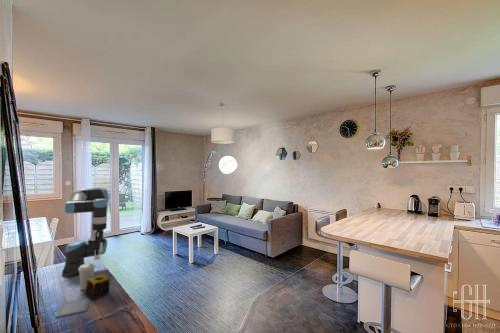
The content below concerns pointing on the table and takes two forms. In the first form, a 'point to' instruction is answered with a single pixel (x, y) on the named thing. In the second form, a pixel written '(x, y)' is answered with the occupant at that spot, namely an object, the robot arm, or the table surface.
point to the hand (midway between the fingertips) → (98, 255)
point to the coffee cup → (85, 274)
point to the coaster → (73, 307)
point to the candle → (97, 286)
